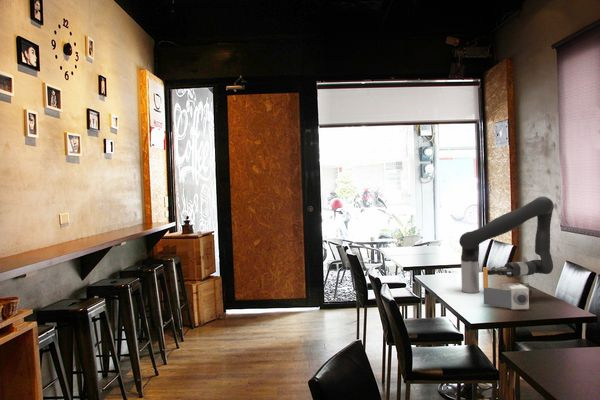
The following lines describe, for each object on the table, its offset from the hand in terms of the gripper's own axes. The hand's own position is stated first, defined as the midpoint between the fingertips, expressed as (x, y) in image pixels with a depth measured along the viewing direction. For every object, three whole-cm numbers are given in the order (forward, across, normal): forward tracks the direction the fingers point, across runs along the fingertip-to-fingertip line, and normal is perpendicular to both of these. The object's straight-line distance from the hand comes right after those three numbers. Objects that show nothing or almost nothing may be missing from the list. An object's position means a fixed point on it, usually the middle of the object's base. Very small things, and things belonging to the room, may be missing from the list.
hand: (487, 272), depth 247 cm
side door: (-2, +4, +16) cm, 16 cm away
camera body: (-11, +7, +16) cm, 21 cm away
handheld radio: (-27, -6, +17) cm, 32 cm away
